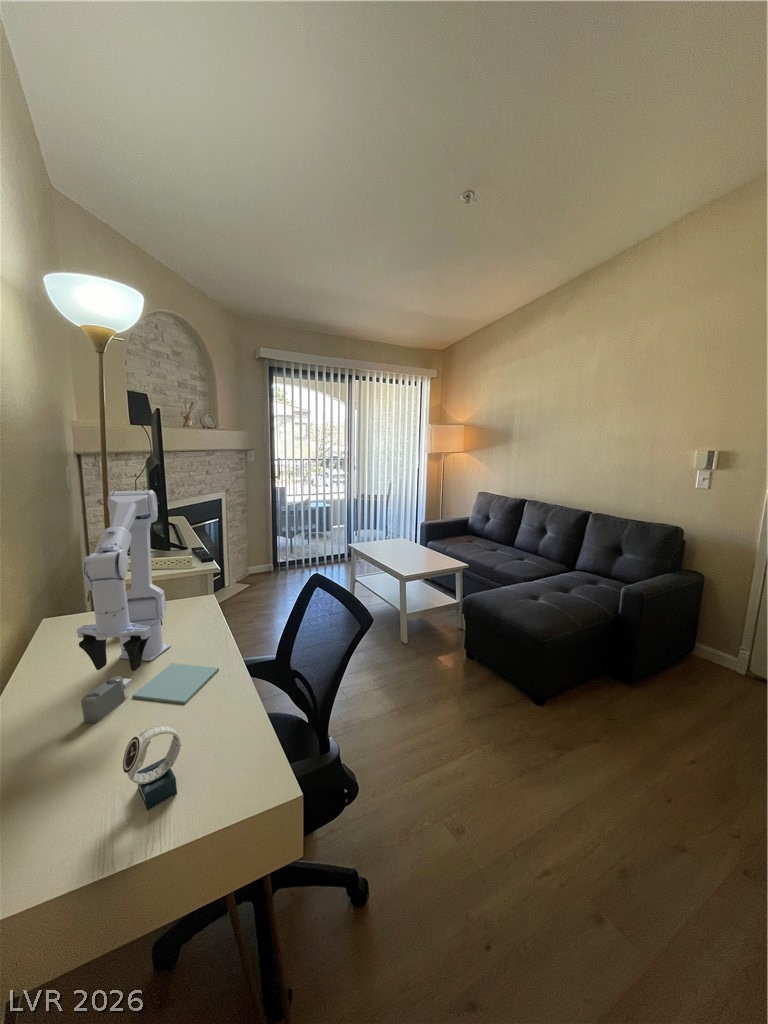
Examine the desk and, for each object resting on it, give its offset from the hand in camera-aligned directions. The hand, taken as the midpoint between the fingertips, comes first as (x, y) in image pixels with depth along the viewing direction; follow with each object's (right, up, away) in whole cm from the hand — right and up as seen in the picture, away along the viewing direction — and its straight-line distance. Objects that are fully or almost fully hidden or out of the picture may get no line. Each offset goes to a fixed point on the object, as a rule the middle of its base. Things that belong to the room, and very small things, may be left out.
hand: (118, 667), depth 84 cm
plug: (-3, -9, 0) cm, 9 cm away
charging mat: (+8, -7, +9) cm, 14 cm away
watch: (+20, -13, -20) cm, 31 cm away
